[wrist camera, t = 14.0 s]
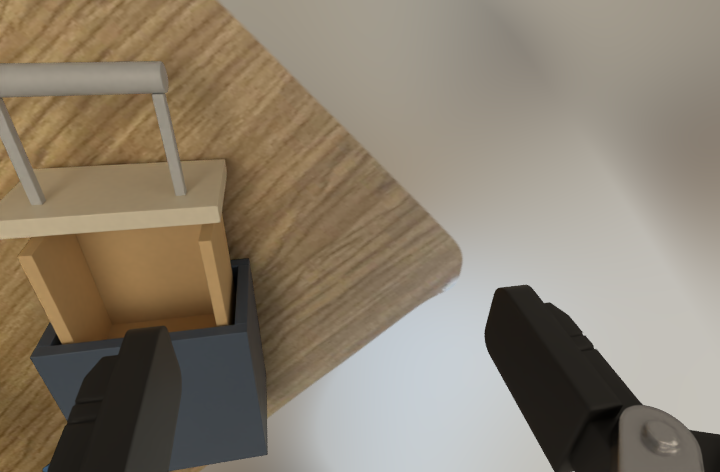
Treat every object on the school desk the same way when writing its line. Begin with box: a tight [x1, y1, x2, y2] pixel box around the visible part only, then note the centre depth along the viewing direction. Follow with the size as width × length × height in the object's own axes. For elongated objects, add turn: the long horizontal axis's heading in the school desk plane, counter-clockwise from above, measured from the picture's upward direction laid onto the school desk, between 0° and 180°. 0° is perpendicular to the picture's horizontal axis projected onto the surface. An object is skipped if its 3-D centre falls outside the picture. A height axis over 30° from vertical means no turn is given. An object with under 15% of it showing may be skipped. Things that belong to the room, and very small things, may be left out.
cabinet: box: [30, 258, 268, 471], centre depth 37 cm, size 16×14×9 cm
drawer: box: [0, 61, 236, 345], centre depth 30 cm, size 22×13×7 cm, turn 178°
